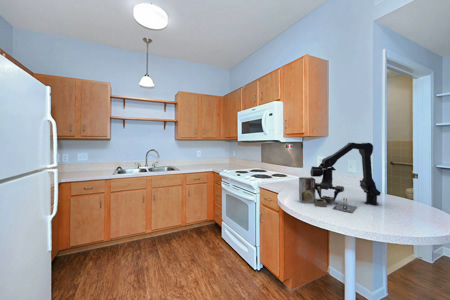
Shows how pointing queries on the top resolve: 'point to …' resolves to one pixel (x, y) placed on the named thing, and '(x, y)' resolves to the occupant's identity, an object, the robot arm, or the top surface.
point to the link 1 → (320, 203)
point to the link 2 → (328, 199)
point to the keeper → (345, 207)
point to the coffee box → (306, 189)
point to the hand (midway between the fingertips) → (327, 199)
